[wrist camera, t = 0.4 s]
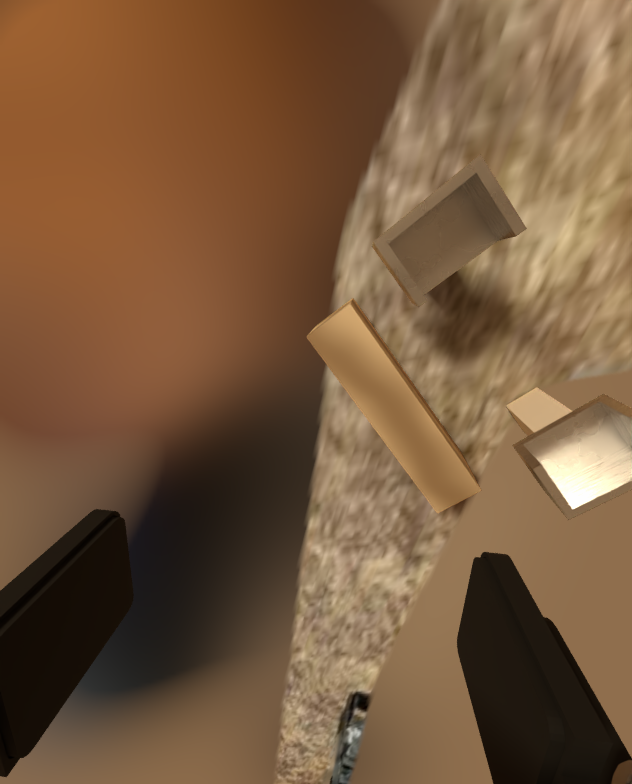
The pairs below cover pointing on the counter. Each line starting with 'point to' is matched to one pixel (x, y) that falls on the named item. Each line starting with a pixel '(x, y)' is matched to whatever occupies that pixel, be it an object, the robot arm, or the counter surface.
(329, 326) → the rail
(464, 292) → the counter surface
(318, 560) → the counter surface
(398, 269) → the bracket stand
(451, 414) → the counter surface
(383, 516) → the counter surface
